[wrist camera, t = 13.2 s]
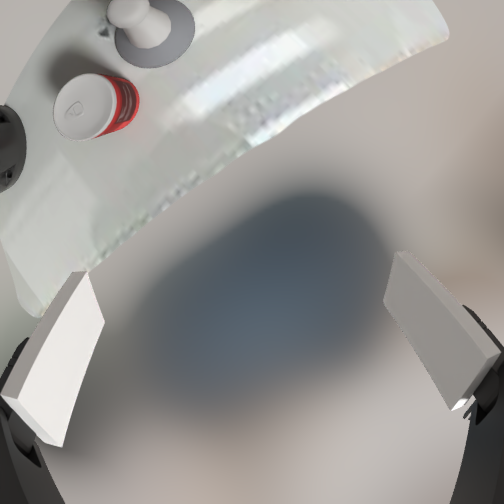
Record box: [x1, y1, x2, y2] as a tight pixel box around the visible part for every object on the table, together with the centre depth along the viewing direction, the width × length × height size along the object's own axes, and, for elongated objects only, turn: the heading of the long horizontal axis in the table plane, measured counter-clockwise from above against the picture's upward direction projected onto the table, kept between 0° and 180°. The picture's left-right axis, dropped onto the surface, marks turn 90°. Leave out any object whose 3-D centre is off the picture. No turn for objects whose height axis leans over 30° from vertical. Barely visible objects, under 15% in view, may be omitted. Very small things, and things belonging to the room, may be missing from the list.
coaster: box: [116, 0, 195, 68], centre depth 30 cm, size 11×11×1 cm
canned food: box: [53, 73, 139, 141], centre depth 29 cm, size 8×8×11 cm
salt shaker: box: [106, 0, 171, 49], centre depth 24 cm, size 6×6×13 cm
